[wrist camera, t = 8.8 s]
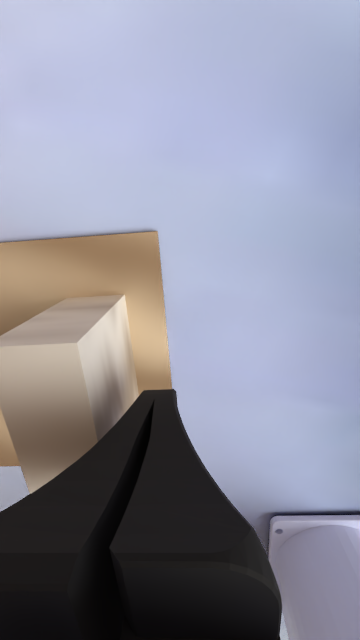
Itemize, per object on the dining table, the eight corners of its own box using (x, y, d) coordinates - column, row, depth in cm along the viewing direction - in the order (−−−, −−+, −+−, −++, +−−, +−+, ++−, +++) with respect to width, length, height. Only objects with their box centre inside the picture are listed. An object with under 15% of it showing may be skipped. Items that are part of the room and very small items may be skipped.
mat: (178, 458, 17) (178, 462, 17) (0, 462, 18) (-2, 466, 18) (157, 231, 13) (156, 231, 12) (-79, 248, 13) (-85, 249, 13)
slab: (142, 423, 16) (116, 530, 10) (91, 425, 16) (38, 530, 11) (124, 294, 14) (76, 342, 8) (64, 298, 14) (-25, 347, 8)
